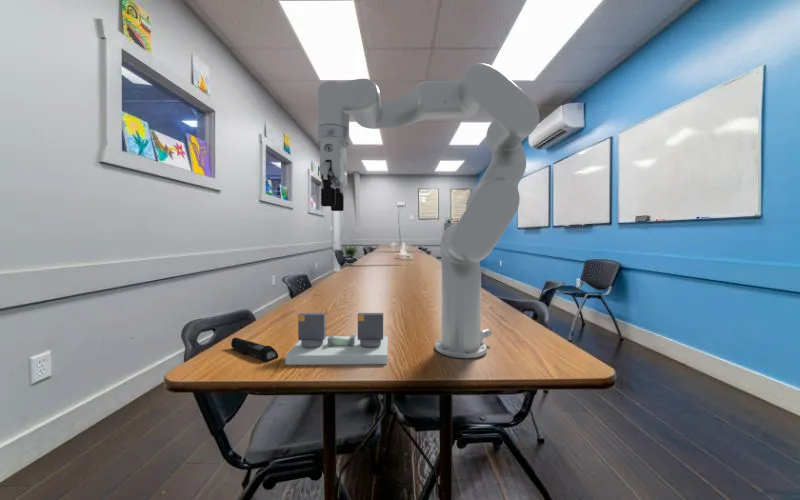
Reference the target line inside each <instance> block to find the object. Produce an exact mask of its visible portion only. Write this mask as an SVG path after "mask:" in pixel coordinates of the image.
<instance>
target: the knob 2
mask: <svg viewBox="0 0 800 500" xmlns="http://www.w3.org/2000/svg"><path fill="white" fill-rule="evenodd" d="M357 336H358V340H360V345H361V346H363V347H376V346H379V345H381V340H383V336H384V312H358V313H357Z"/></svg>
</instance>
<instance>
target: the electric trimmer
mask: <svg viewBox="0 0 800 500" xmlns="http://www.w3.org/2000/svg"><path fill="white" fill-rule="evenodd" d="M230 346H231V348H232V349H233V350H236V351H237V352H239V354H240V353H241V354H242V355H250V356H254V357H255V358H259V359H260V360H261V362H262V363H269V362H272V361H274V360H277V359H279V354H278V352H277V351H276V349H275V348H274V347H272V346H270V345H263V344H261V343H257V342H253V341H251V340H250V341H249V340H246V339H244V338H239V337H233V338H232V340H231V344H230Z"/></svg>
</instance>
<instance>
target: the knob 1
mask: <svg viewBox="0 0 800 500" xmlns="http://www.w3.org/2000/svg"><path fill="white" fill-rule="evenodd" d="M326 314H327V313H326V312H300V313H299V314H298V315H297V318H298V319H297V324H298V325H297V326H298V327H297V329H298V331H297V334H298V336H297V337H298V338H297V339H298V341H300V340H301V346H303V347H307V348H311V347H317V346H320V345H322V344H323V340H324V339H325V338H326V336H327V334H326V332H327V331H326V330H327V327H326V325H327V324H326V321H327V320H326V319H327V318H326V317H327V315H326Z"/></svg>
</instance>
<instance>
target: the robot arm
mask: <svg viewBox="0 0 800 500" xmlns="http://www.w3.org/2000/svg"><path fill="white" fill-rule="evenodd" d="M316 94H317V101H316V102H317V107H316V108H317V113H316V114H317V121H316V122H317V133H316V135H317V137H316V139H317V142H316V143H317V144H318V145H319V146H320V147H319V149H320V152H319V177H320V180H321V182H320V188H321V189H320V205H321V207H330V211H332V212H343V211H344V208H345V207H344V206H345V205H344V200H345V199H344V198H345V196H344V188H347V186H348V162H347V161H348V160H347V149H346V148H348V147H349V146H350V114H352V116H353V118H354V120H355V122H356V123H357V124H358V125H359V126H361V127H362V128H364V129H371V130H382V129H383V130H386V129H387V130H388V129H389V130H390V129H397V128H402V127H405V126H409V125H413V124H415V123H418V122H421V121H438V120H439V121H440V120H441V121H443V120H444V121H445V120H449V121H451V120H454V121H455V120H458V121H459V120H474V119H476V118H479V117H480V116H481V115H483V114H484V112H485V113H486V114H487V115H489V116H490V117H491V118H492V119H493V120H492V121H491V123H490V124H489V125H488V128H487V130H486V143H487V145H488V148H489V150H490V154H491V160H490V163H489V165H488V166H487V168H486V170H485V172H484V173H483V175H482V177H481V178H480V179H479V181H478V182H477V183H476V185H475V187H474V188H473V190H472V191H471V193H469V195H468V197H467V200H466V202H465V203H466V204H465V208H466V209H465V211H464V212H463V214H462V215H461V217H460V219H459V220H458V221H457V222H455V223H452V224H451V225H449V226H448V227H447V228H446V229H445V230H444V232H443V233H442V236H441V240H440V258H441V259H440V260H441V262H440V263H441V338H439V339H438V340H436V341H435V343H434V348H435V350H436V351H437V352H439V353H440V354H442V355H444V356H447V357H451V358H456V359H457V358H458V359H475V358H480V357H482V356H484V355H486V353H487V350H488V347H487V345H486V344H485V343H484V342H483V341H484V339H485V338H489V337H491V336H492V334H493V333H492V331H491V329H489V328H488V329H487V328H486V329H481V317H482V316H481V315H482V314H481V313H482V311H481V310H482V307H481V306H482V304H481V303H482V302H481V301H482V295H481V294H482V271H481V268H482V267H481V261H483V260H484V259H485V258H487V257H488V256H489V254H491V252H492V251H493V250H494V248H495V247H496V246H497V244H498V242H499V241H500V239H501V237H502V236H503V234H504V233H505V232H506V230H507V228H508V227H509V225H510V223H511V221H512V220H513V219H514V217H515V215H517V212H518V209H519V206H520V199H521V198H520V196H521V195H520V192H519V189H518V186H519V184H520V182H521V181H522V178H523V177H524V175H525V172H526V169H527V158H526V152H525V148H524V146H523V144H522V142H523V141H524V140H525V139H526V138H527V137H529V136H530V135H531V134H533V132H535V130H536V129H537V127H538V125H539V121H540V111H539V108H538V106H537V104H536V103H535V101H534V100H533V99H532V98H531V97H530V96H529V95H528V94H527V93H526V92H524V91H523V90H522V88H520V87H519V86H518V85H516V84H515V82H513V81H512V80H511V79H510V78H509V77H507V75H505V74H503V72H501V71H500V70H498V69H497V68H496V67H493V66H492V65H490V64H487V63H482V62H480V63H474V64H472V65H470V66H469V67H467V69H465V72H463V75H462V78H461V79H460V80H424V81H421V82H420V83H418V84H417V85H415V87H413V89H411V90H410V91H409V92H408V93H406V94H405V95H403V96H401V97H399V98H396V99H389V100H388V99H387V100H385V99H384V100H381V95H380V89H379V87H378V85H377V84H376V83H375V81H373V80H372V79H369V78H358V79H357V78H356V79H351V80H348V81H342V82H338V81H333V80H328V81H324V82H322V83H320V84H319V85H318V87H317V93H316Z"/></svg>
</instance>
